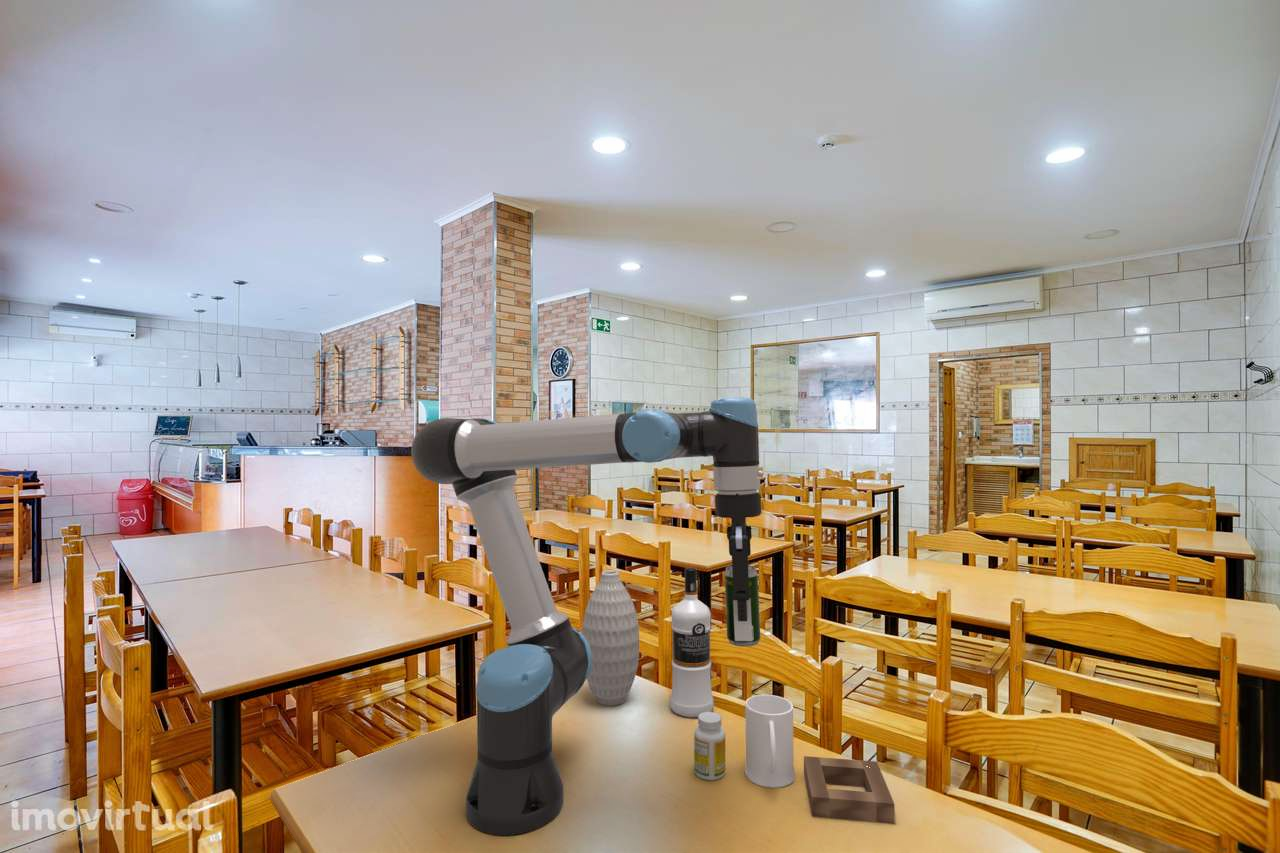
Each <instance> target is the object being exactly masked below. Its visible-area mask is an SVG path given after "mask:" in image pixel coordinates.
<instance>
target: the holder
mask: <svg viewBox="0 0 1280 853" xmlns="http://www.w3.org/2000/svg"><path fill="white" fill-rule="evenodd" d="M866 766H868V767H866ZM869 767H870V768H869ZM803 775H804V776H803V777H804V781H805V788H806V791H807V797H808V798H807V799H808V802H809V807H810V812H811V817H813V818H822V819H823V818H825V819H826V818H827V819H835V820H848V821H858V822H867V823H868V822H871V823H880V824H891V825H895V824H896V823H895V814H896V811H895V810H896V809H895V808H896V807H895V802H894V799H893V797H892V795H891V793H890V789H889V788H888V785H887V783H886V781H885V777H884V776H883V775H884V774H883V773H882V770H881V768H880V766H879V764H878V761H874V760H873V761H872V760H862V759H861V760H859V759H846V758H836V757H835V758H834V757H833V758H832V757H821V756H820V757H819V756H807V755H803ZM827 785H835V786H837V785H838V786H847V787H848V786H849V787H861V788H864V791H861V790H850V789H847V790H846V789H837V788H828V787H827Z"/></svg>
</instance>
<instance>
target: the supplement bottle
mask: <svg viewBox="0 0 1280 853" xmlns="http://www.w3.org/2000/svg"><path fill="white" fill-rule="evenodd" d="M697 719H698V720H697V723H698V726H697V727H695V730H694V733H693V737H694V738H693V739H694V740H693V742H694V745H693V750H694V751H693V752H694V754H693V755H694V756H693V757H694V758H693V759H694V762H693V764H694V765H693V766H694V768H693V769H694V773H695V774H696V776H697V777H699V778H700V779H702V780H706V781H716V780H719V779H721V778H723V777H724V776H725V774H726V731H725V730H724V728H723V727H722V724H723V723H722V720H723V719H722V717H721V715H720V714H719V713H716V712H713V711H711V712H704V713H701V714H700V715H699V716H698V717H697Z"/></svg>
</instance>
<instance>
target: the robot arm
mask: <svg viewBox="0 0 1280 853" xmlns="http://www.w3.org/2000/svg"><path fill="white" fill-rule="evenodd" d="M759 443H760V441H759V422H758V412H757V405H756V402H755V401H754V399H752V398H749V397H726V398H725V397H724V398H716V399H715V398H714V399H713V400H711V403H710V408H709V410H707V411H702V412H668V411H664V410H663V411H662V410H660V409H643V410H640V411H638V412H628V413H614V414H603V415H589V416H577V417H566V418H565V417H564V418H553V419H552V418H551V419H540V420H539V419H537V420H530V421H529V420H528V421H515V422H504V423H502V422H501V423H500V422H497V421H493V420H490V419H486V418H479V417H478V418H453V417H452V418H451V417H445V418H444V417H442V418H437V419H433V420H431V421H430V422H428V423H426V424H424V425H423V426H422V427H421V428H420V429H418V431H417V433H416V434H415V436H414V438H413V441H412V444H411V450H410V451H411V452H410V453H411V459H412V463H413V466H414V467H415V469H416V470H417V472H419V474H420V475H421V476H422V477H424V478H425V479H426V480H428V481H430V482H431V483H436V484H440V485H452V487H453V489H454V490H453V491H454V494H455V496H456V498H457V500H459V501H461V502H463V503H465V504H467V505H468V507H469V510H470V513H471V516H472V519H473V522H474V524H475V528H476V530H477V534H478V536H479V539H480V542H481V544H482V547H483V550H484V551H483V552H485V556H486V559H487V561H488V565H489V568H490V570H491V574H492V576H493V578H494V582H495V585H496V587H497V591H498V593H499V597H500V599H501V602H502V605H503V608H504V611H505V614H506V617H507V620H508V622H509V625H510V628H511V631H510V632H509V635H508V638H507V639H506V642H507V648H503V647H502V648H500V649H497V650H495V651H494V652H492V653H490V654H489V655H488V656H486V657H485V658H484V659H483V661H482V662H481V663H480V665H479V668H478V669H477V670H478V671H477V680H476V681H477V682H476V687H475V688H476V689H475V695H476V726H477V728H476V731H477V733H476V734H477V735H476V738H477V741H476V742H477V756H476V759H477V760H476V764H475V767H474V769H473V770H474V771H473V773H472V776H471V779H470V783H469V785H468V789H467V792H466V796H465V816H466V819H467V821H468V822H469V824H471V825H472V827H474V828H475V829H477V830H479V831H481V832H483V833H487V834H490V835H497V836H511V835H518V834H524V833H528V832H530V831H534V830H538V829H540V828H541V827H543V826H545V825H547V824H548V823H550V822H551V821H552V820H553V819H554V818H556V817H557V815H558V814H559V813H560V812H561V810H562V809H563V806H564V784H563V780H562V777H561V775H560V771H559V768H558V765H557V761H556V759H555V756H554V754H553V716H554V715H555V714H556V713H557V712H558V711H559V710H560V709H561V708H562V707H564V705H565V704H566V703H567V702H568V701H569V700H570V699H571V698H572V697H573V696H574V695H576V694H577V693H578V692H579V691H580V690H581V688H583V686H584V684H585V682H586V681H587V677H588V675H589V673H590V670H591V665H592V653H591V648H590V646H589V643H588V641H587V639H586V638H585V636H584V635H583V634H582V631H578V630H577V629H576V628H575V627H572V624H571V621H570V618H569V616H568V614H566V613H563V612H561V611H559V610H558V609H557V606H556V604H555V600H554V598H553V596H552V593H551V590H550V588H549V585H548V582H547V579H546V577H545V573H544V571H543V569H542V568H543V567H542V565H541V563H540V559H539V557H538V554H537V552H536V549H535V546H534V543H533V541H532V536H530V532H529V529H528V527H527V524H526V521H525V519H524V516H523V513H522V510H521V507H520V505H519V501H518V500H517V499H518V498H517V496H516V493H515V491H514V486H515V484H516V481H517V480H518V474H517V471H516V470H526V469H544V468H557V467H570V466H571V467H573V466H576V467H577V466H588V465H589V466H590V465H592V466H593V465H605V464H607V465H608V464H621V463H622V464H623V463H629V464H630V463H647V464H651V463H659V462H660V463H661V462H663V461H666V460H671V459H679V458H681V459H682V458H697V457H698V458H700V457H702V458H705V457H712V461H713V463H712V465H713V466H712V473H713V474H712V475H713V489H714V491H717V493H716V494H715V495H714V512H715V515H716V516H717V517H719V518H723V519H731V523H730V524H731V526H730V525H729V526H727V527H726V538H727V540H728V553H729V556H731V566H732V573H733V596H729V600H733V607H734V630H735V641H752V623H751V600H750V593H749V576H748V565H749V557H750V556H751V553H752V552H751V540H752V525H748V524H747V521H746V520H747V519H746V518H756V517H759V516H760V515H762V510H763V508H762V494H760V492H757V490H760V488H761V481H760V480H761V479H760V478H761V477H764V475H765V474H764V470H759V469H760V444H759ZM759 477H760V478H759Z"/></svg>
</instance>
